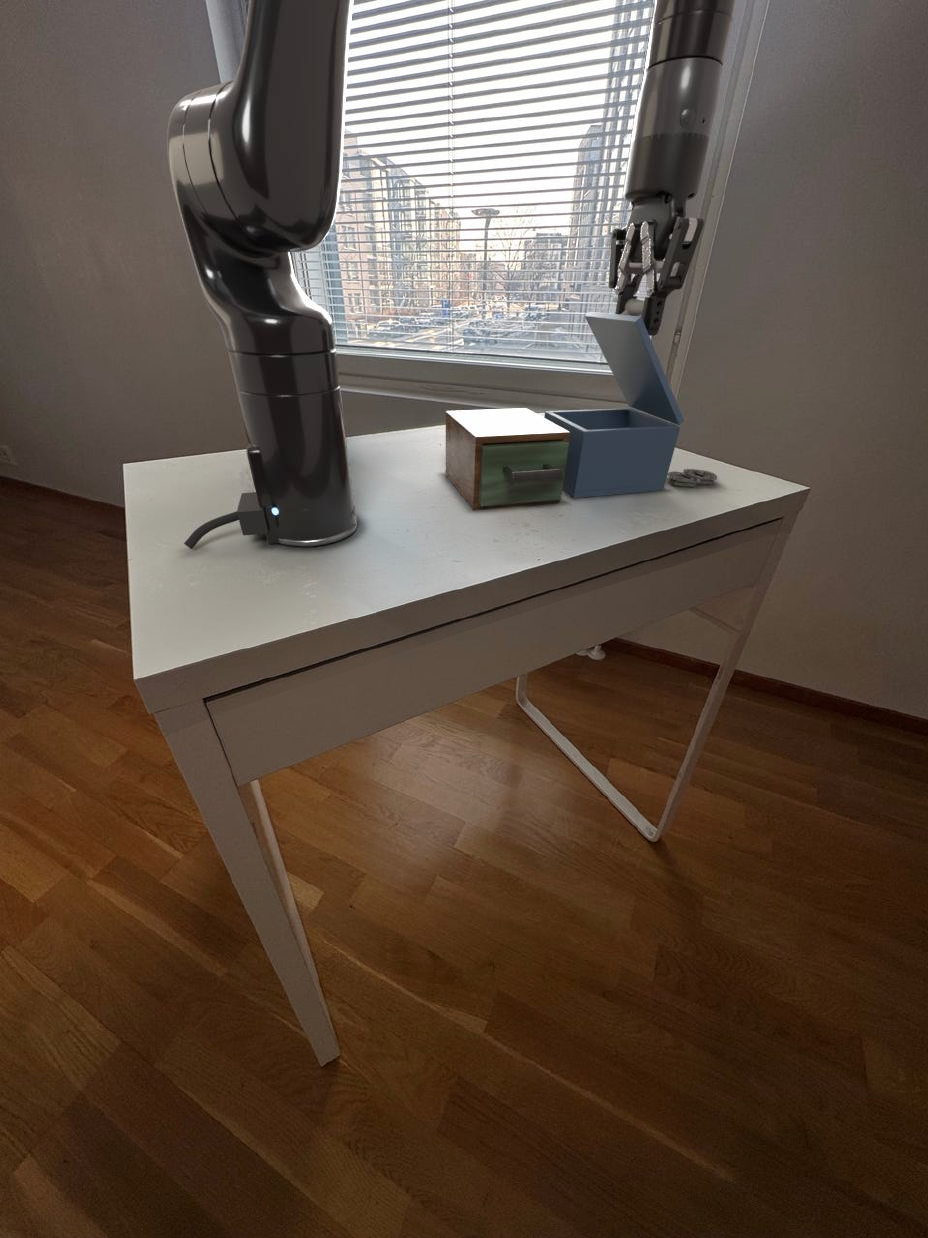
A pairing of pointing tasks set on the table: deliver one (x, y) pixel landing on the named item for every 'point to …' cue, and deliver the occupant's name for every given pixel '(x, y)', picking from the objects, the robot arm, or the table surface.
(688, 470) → the corroded twin loop
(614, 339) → the lid
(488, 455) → the drawer
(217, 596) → the table surface
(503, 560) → the table surface
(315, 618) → the table surface
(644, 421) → the chest
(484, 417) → the cabinet
